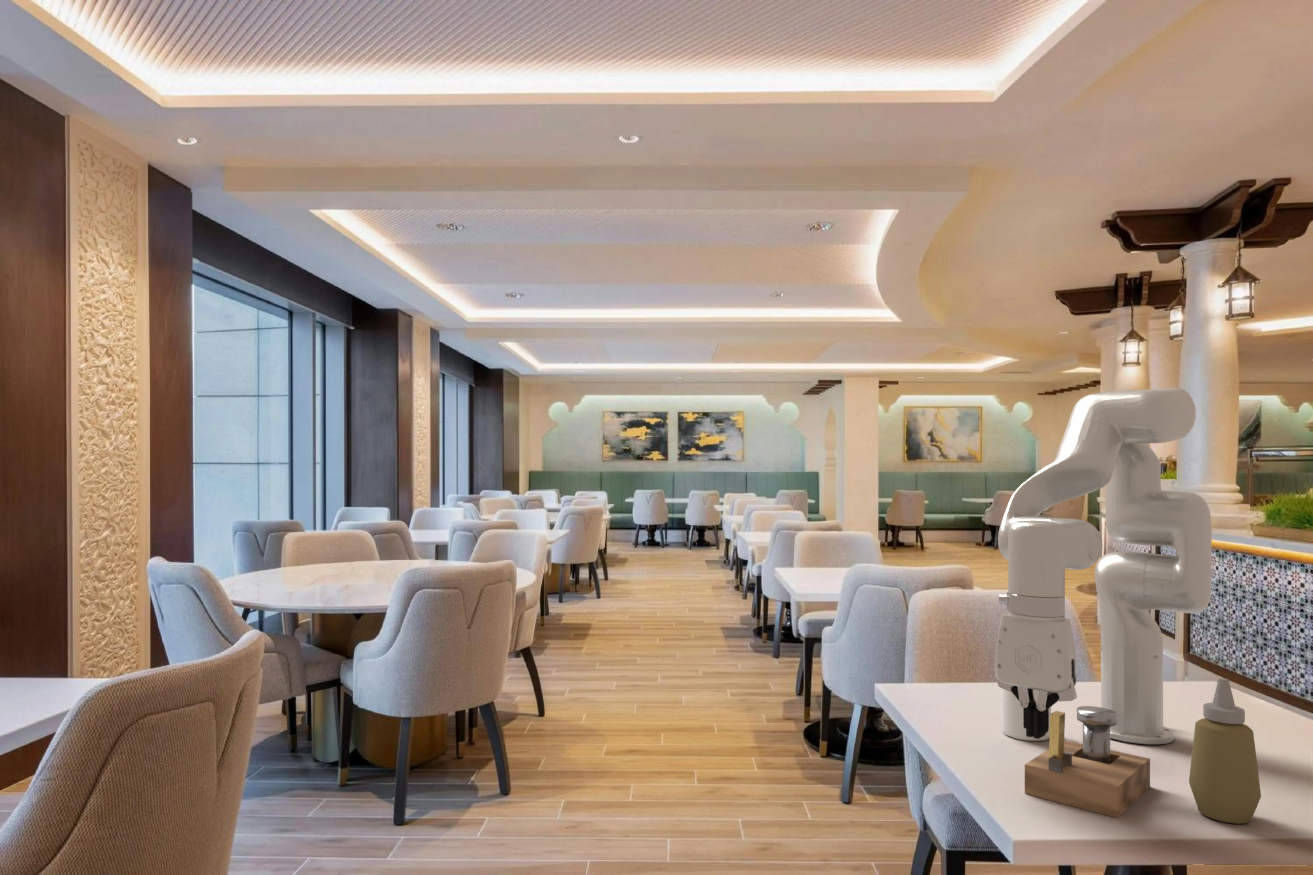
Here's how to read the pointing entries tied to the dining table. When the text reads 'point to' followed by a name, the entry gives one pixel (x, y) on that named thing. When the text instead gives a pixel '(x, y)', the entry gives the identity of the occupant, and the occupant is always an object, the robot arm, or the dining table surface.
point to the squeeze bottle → (1224, 761)
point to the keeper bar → (1057, 735)
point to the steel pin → (1096, 732)
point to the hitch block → (1088, 779)
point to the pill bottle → (1016, 717)
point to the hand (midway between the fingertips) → (1036, 735)
